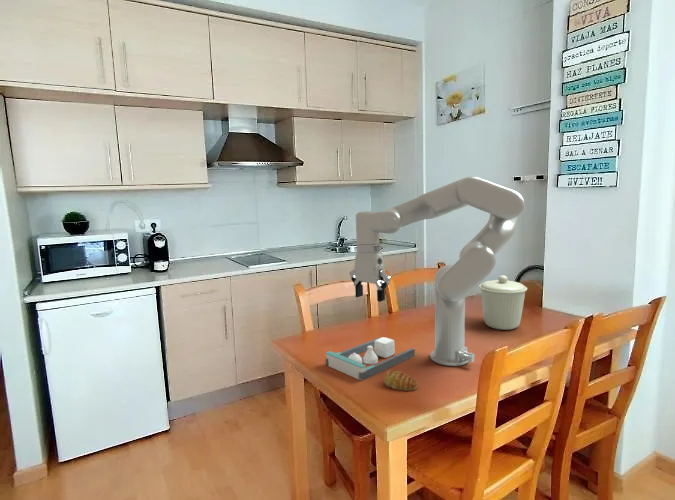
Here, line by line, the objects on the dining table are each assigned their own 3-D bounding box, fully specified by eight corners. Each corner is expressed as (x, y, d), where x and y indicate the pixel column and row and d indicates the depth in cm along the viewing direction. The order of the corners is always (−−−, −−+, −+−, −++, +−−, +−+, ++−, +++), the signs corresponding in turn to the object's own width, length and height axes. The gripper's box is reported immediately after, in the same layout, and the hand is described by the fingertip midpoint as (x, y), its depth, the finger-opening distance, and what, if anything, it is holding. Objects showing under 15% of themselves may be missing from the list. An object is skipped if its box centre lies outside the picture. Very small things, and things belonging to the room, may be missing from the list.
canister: (536, 329, 163) (538, 277, 160) (500, 336, 157) (501, 282, 154) (502, 316, 180) (503, 269, 177) (469, 322, 173) (469, 273, 170)
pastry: (421, 384, 120) (420, 372, 120) (412, 395, 115) (412, 382, 114) (391, 378, 125) (391, 366, 125) (382, 387, 120) (381, 375, 119)
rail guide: (414, 355, 141) (414, 343, 140) (361, 380, 124) (361, 367, 123) (379, 343, 153) (378, 332, 152) (326, 365, 136) (325, 352, 135)
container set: (383, 351, 146) (383, 336, 146) (395, 355, 143) (394, 340, 142) (343, 369, 133) (342, 352, 132) (355, 373, 129) (354, 357, 128)
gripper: (396, 248, 133) (397, 300, 135) (356, 245, 145) (358, 292, 148) (381, 251, 128) (383, 305, 130) (341, 248, 140) (344, 297, 142)
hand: (370, 298), depth 139 cm, fingers open, 9 cm apart
